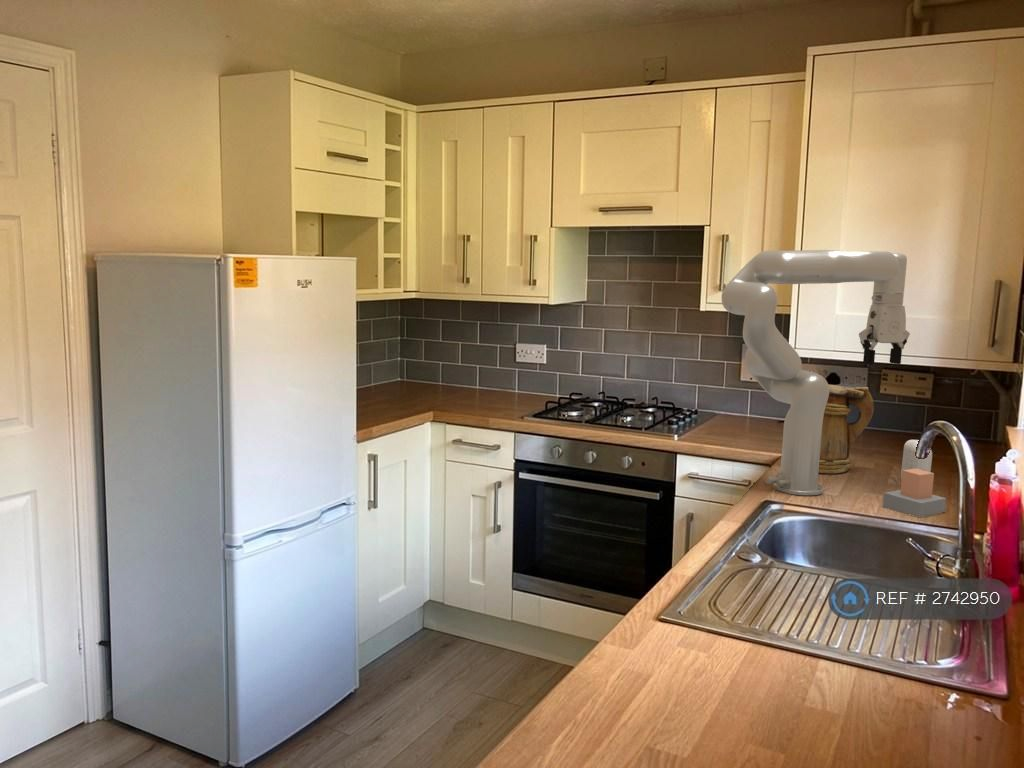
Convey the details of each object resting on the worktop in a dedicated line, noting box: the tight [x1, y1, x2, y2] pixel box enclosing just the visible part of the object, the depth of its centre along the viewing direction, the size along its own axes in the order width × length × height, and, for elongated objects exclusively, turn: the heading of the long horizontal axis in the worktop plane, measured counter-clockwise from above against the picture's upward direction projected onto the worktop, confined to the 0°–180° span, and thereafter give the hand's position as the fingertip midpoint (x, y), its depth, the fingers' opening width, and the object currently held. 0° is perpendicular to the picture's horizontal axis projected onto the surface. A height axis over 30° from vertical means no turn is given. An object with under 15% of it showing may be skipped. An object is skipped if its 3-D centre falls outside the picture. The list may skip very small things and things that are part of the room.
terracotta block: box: [900, 469, 935, 499], centre depth 208 cm, size 5×5×6 cm
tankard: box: [818, 383, 875, 475], centre depth 248 cm, size 18×24×25 cm
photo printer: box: [900, 439, 933, 481], centre depth 232 cm, size 10×4×12 cm, turn 0°
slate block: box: [882, 489, 947, 518], centre depth 208 cm, size 10×10×4 cm
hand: (881, 363), depth 227 cm, fingers open, 9 cm apart
